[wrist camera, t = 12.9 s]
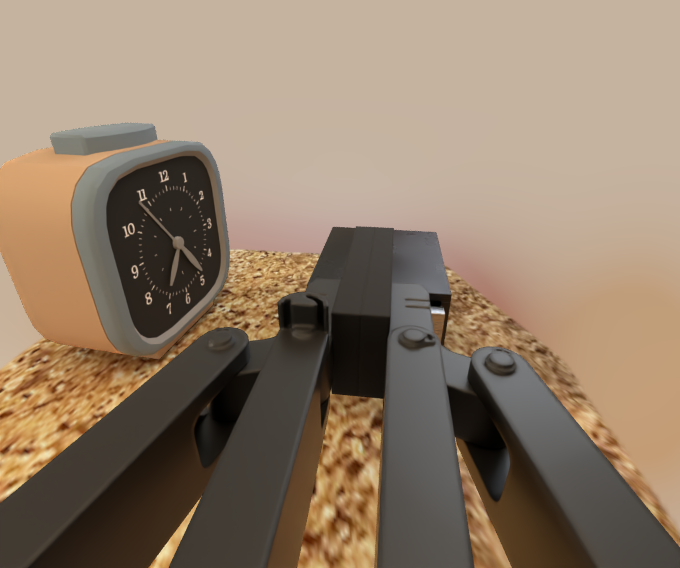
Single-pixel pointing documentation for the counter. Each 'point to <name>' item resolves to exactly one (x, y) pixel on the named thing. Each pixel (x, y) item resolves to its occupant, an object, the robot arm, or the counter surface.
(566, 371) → the counter surface
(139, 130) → the alarm clock
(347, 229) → the cabinet
